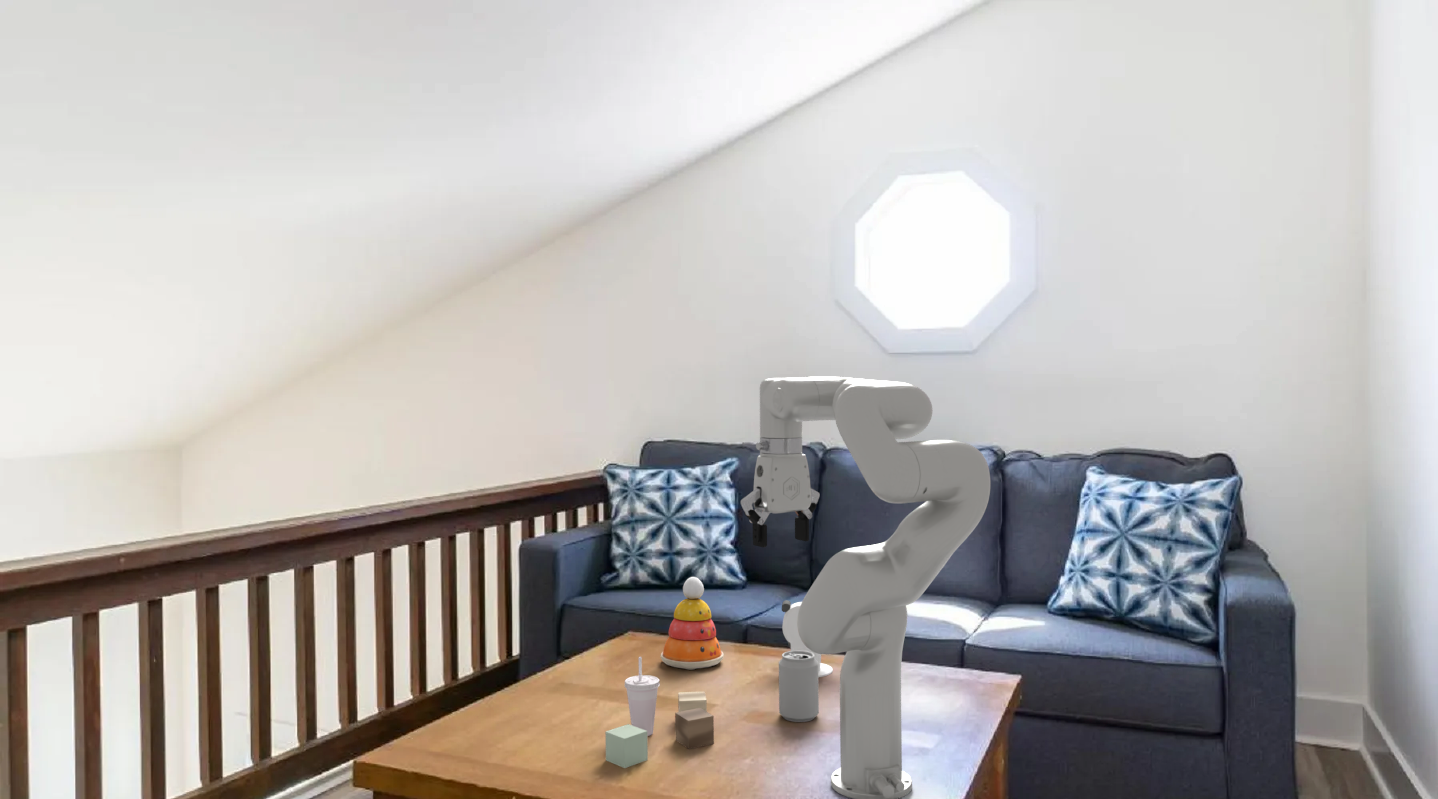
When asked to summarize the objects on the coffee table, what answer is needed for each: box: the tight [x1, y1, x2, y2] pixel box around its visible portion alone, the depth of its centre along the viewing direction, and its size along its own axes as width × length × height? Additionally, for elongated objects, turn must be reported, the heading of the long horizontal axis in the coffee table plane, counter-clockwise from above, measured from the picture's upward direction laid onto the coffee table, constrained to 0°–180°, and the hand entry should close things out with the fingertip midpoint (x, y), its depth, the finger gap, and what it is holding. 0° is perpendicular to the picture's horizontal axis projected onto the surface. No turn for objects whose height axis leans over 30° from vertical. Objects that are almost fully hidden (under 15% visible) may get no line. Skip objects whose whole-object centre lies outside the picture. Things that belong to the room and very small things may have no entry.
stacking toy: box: [660, 576, 725, 671], centre depth 228 cm, size 14×14×20 cm
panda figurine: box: [781, 599, 834, 678], centre depth 221 cm, size 12×11×15 cm
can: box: [778, 650, 820, 723], centre depth 191 cm, size 8×8×12 cm
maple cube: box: [677, 691, 708, 712], centre depth 189 cm, size 5×5×5 cm
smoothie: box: [624, 656, 661, 737], centre depth 184 cm, size 6×6×14 cm
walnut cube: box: [674, 708, 715, 750], centre depth 179 cm, size 5×5×5 cm
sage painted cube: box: [604, 723, 649, 769], centre depth 171 cm, size 5×5×5 cm
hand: (781, 543), depth 180 cm, fingers open, 9 cm apart
